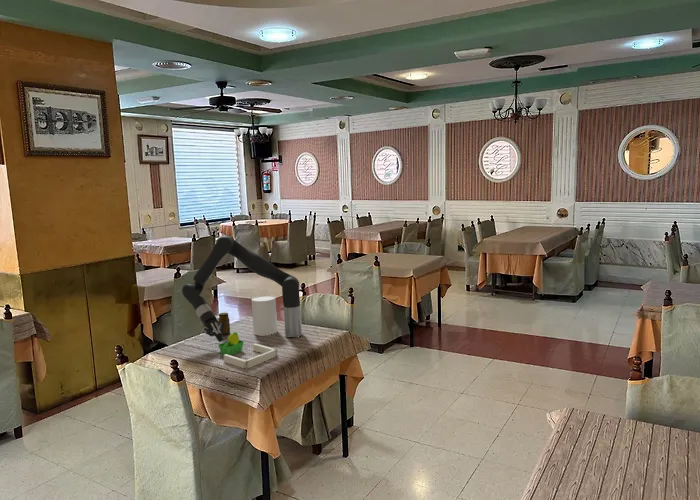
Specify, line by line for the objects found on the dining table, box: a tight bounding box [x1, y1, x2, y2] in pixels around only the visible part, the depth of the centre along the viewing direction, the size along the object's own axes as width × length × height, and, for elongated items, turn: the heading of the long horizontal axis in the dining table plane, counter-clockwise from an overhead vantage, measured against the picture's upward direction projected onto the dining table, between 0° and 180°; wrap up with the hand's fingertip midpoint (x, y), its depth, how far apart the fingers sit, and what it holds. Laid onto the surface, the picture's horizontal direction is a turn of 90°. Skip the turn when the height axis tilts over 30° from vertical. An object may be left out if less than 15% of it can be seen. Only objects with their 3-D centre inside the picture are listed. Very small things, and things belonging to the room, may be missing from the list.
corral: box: [223, 343, 279, 370], centre depth 247 cm, size 16×20×4 cm
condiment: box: [217, 312, 234, 338], centre depth 288 cm, size 7×8×12 cm
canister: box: [251, 294, 278, 337], centre depth 288 cm, size 14×14×20 cm
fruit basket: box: [217, 331, 245, 356], centre depth 256 cm, size 11×9×11 cm
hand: (221, 340), depth 262 cm, fingers closed
